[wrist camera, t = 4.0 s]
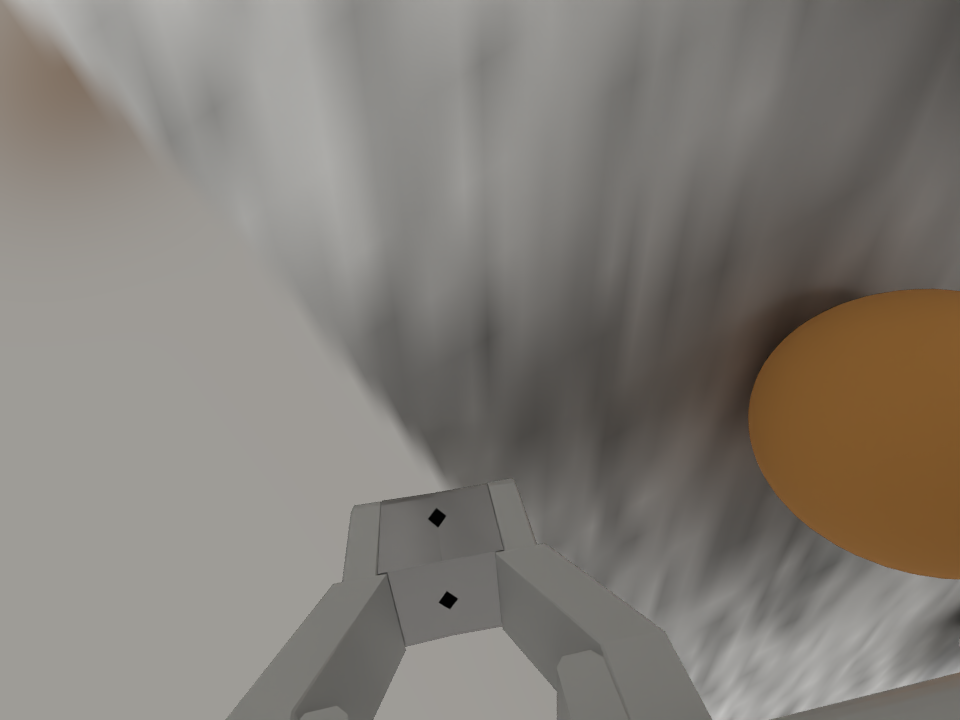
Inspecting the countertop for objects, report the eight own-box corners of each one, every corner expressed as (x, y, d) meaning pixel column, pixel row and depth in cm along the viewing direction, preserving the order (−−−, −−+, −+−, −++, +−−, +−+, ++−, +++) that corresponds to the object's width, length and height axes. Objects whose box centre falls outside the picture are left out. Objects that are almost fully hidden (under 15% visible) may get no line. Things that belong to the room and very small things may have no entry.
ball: (936, 244, 12) (1393, 338, 6) (866, 437, 14) (1142, 616, 9) (716, 274, 11) (1011, 404, 6) (685, 468, 14) (866, 680, 8)
